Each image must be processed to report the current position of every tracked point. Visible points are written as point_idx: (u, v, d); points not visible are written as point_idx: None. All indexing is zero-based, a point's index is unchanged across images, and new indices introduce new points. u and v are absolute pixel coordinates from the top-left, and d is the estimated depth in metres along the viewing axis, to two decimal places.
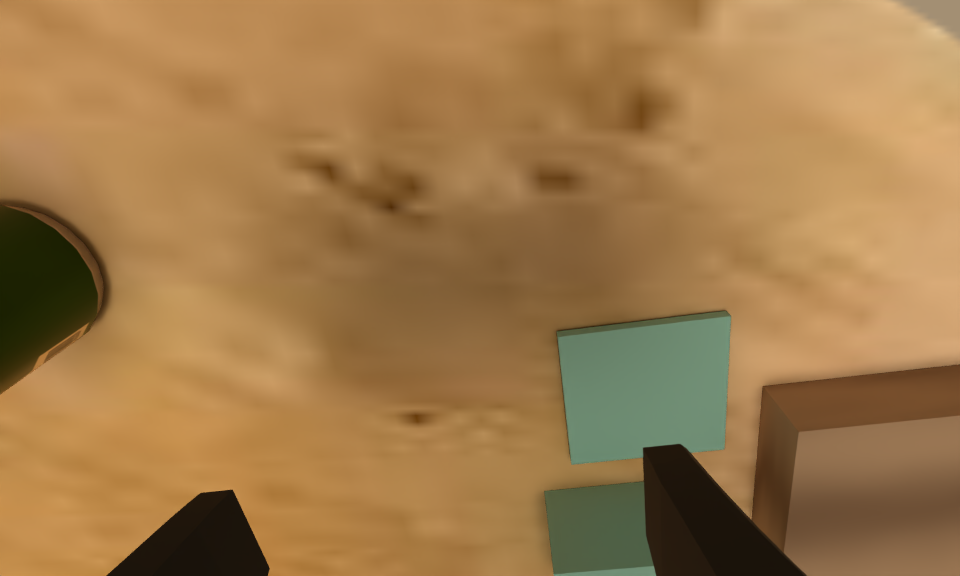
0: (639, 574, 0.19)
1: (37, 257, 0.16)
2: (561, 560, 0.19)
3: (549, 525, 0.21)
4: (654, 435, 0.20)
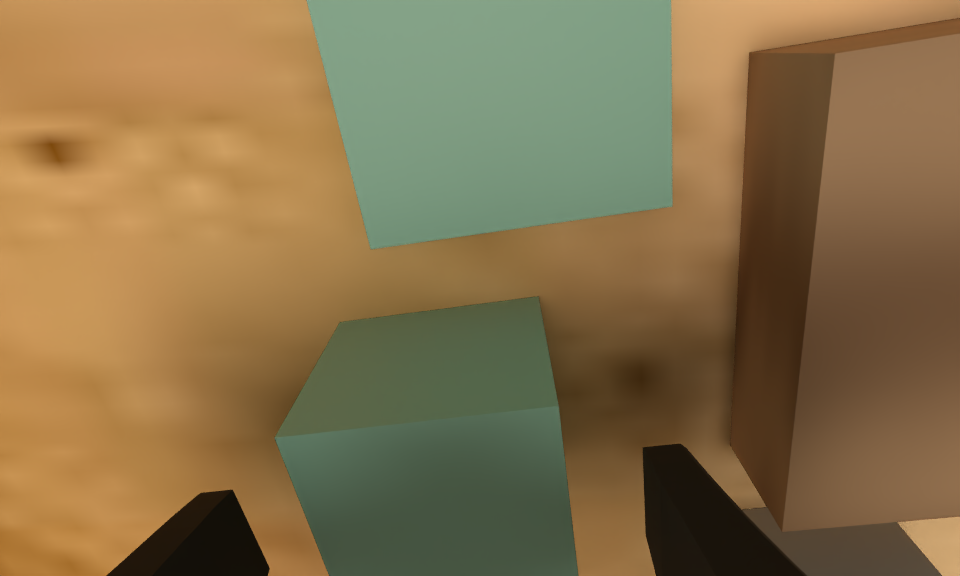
0: (467, 436, 0.08)
1: None
2: (305, 414, 0.09)
3: (317, 364, 0.10)
4: (526, 172, 0.10)
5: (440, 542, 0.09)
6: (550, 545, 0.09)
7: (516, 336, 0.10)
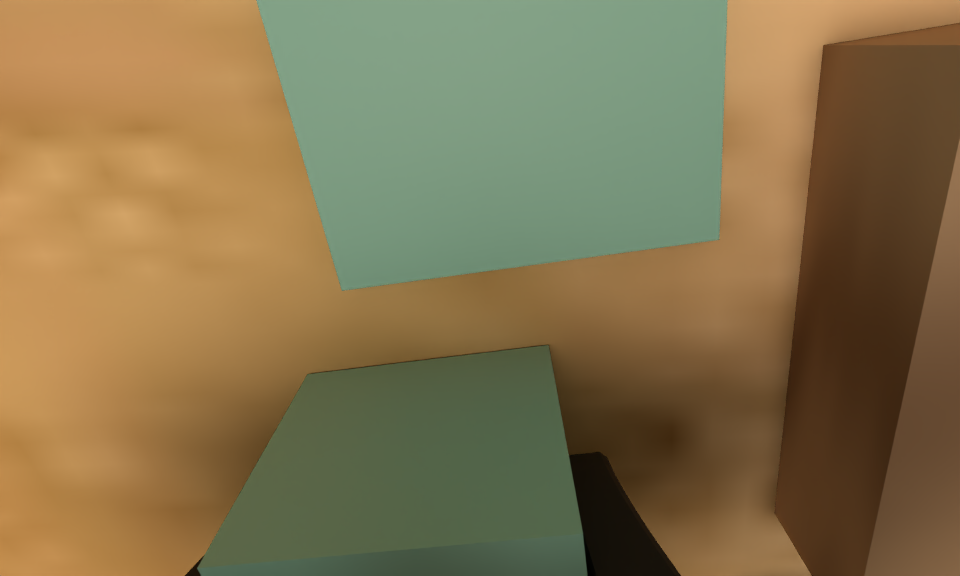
0: (458, 568, 0.06)
1: None
2: (242, 528, 0.07)
3: (270, 443, 0.08)
4: (536, 198, 0.08)
5: None
6: None
7: (522, 411, 0.08)
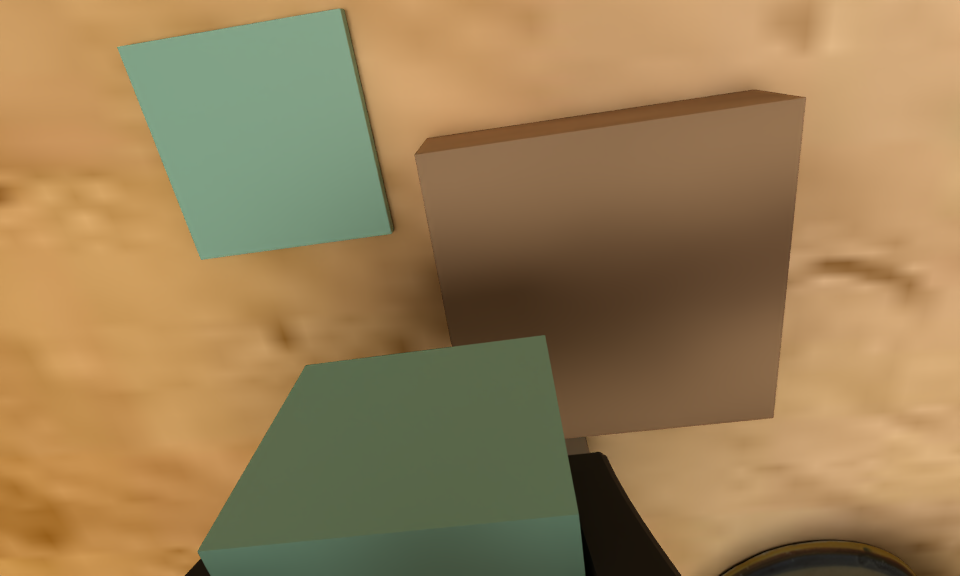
0: (455, 550, 0.06)
1: None
2: (243, 513, 0.07)
3: (269, 432, 0.08)
4: (294, 211, 0.15)
5: None
6: None
7: (519, 397, 0.08)
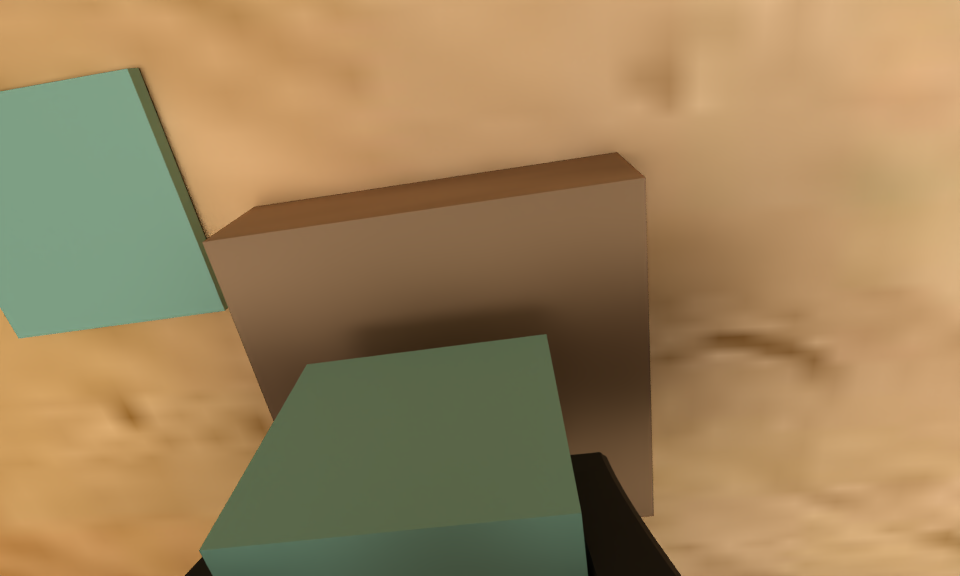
0: (458, 549, 0.06)
1: None
2: (244, 511, 0.07)
3: (270, 431, 0.08)
4: (113, 288, 0.14)
5: None
6: None
7: (520, 396, 0.08)
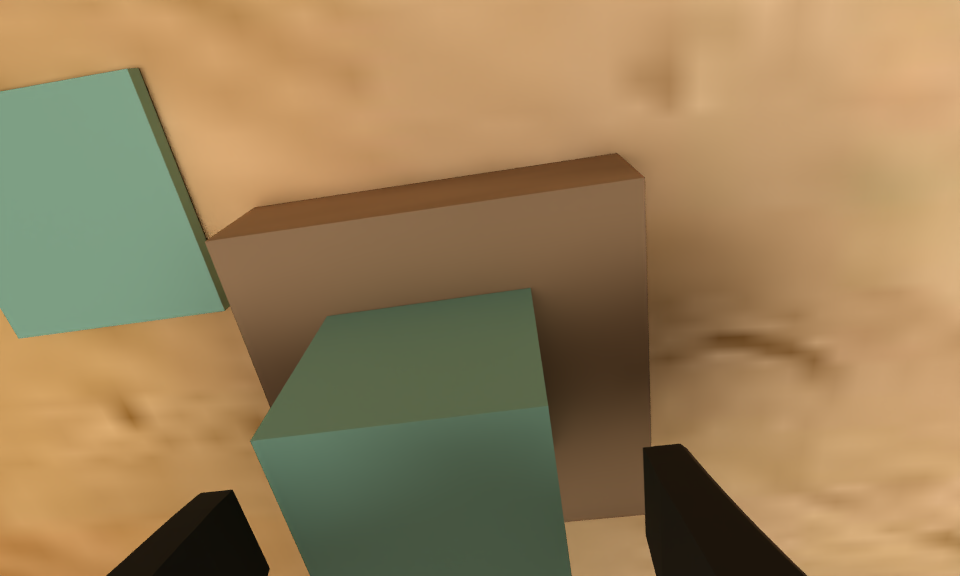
0: (453, 438, 0.08)
1: None
2: (283, 416, 0.08)
3: (300, 363, 0.10)
4: (112, 288, 0.14)
5: (427, 547, 0.09)
6: (542, 550, 0.09)
7: (506, 332, 0.10)
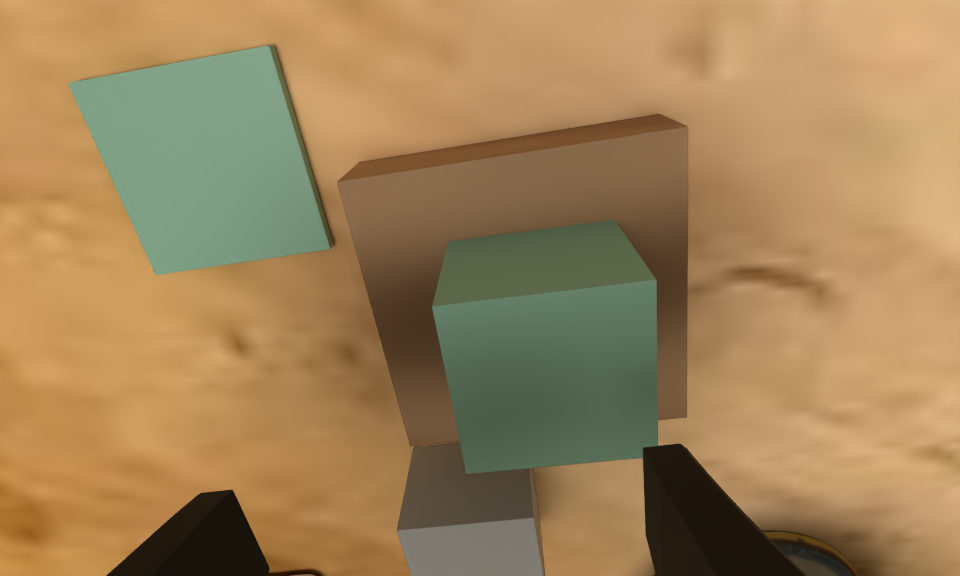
0: (582, 306, 0.11)
1: None
2: (449, 294, 0.11)
3: (443, 267, 0.13)
4: (239, 230, 0.17)
5: (550, 400, 0.12)
6: (638, 403, 0.12)
7: (606, 244, 0.12)
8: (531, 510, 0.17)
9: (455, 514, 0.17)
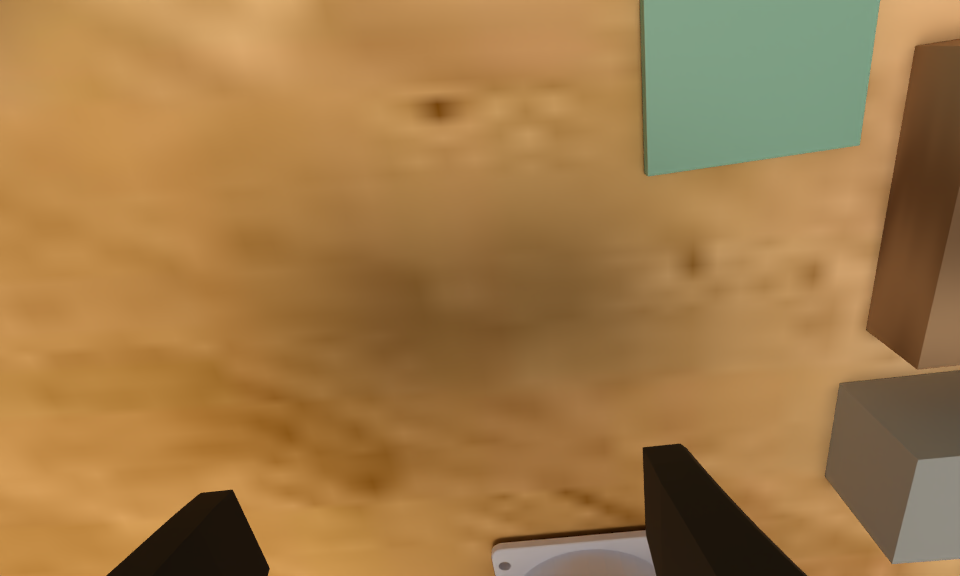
0: None
1: None
2: None
3: None
4: (765, 122, 0.15)
5: None
6: None
7: None
8: None
9: None
